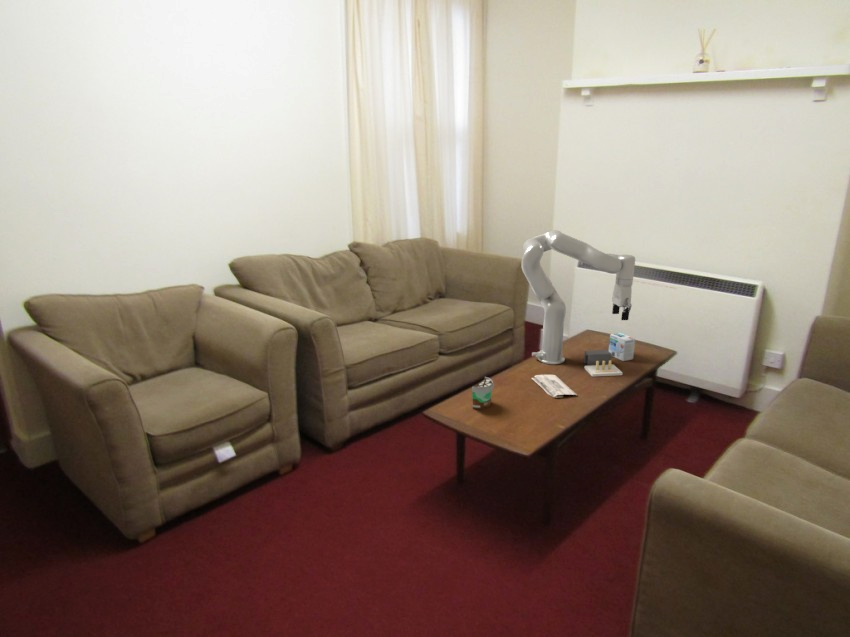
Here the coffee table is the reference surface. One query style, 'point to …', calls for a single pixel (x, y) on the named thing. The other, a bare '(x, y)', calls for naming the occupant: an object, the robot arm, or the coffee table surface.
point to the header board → (603, 369)
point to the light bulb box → (621, 346)
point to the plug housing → (597, 357)
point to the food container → (482, 394)
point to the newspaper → (553, 385)
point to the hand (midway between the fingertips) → (620, 316)
